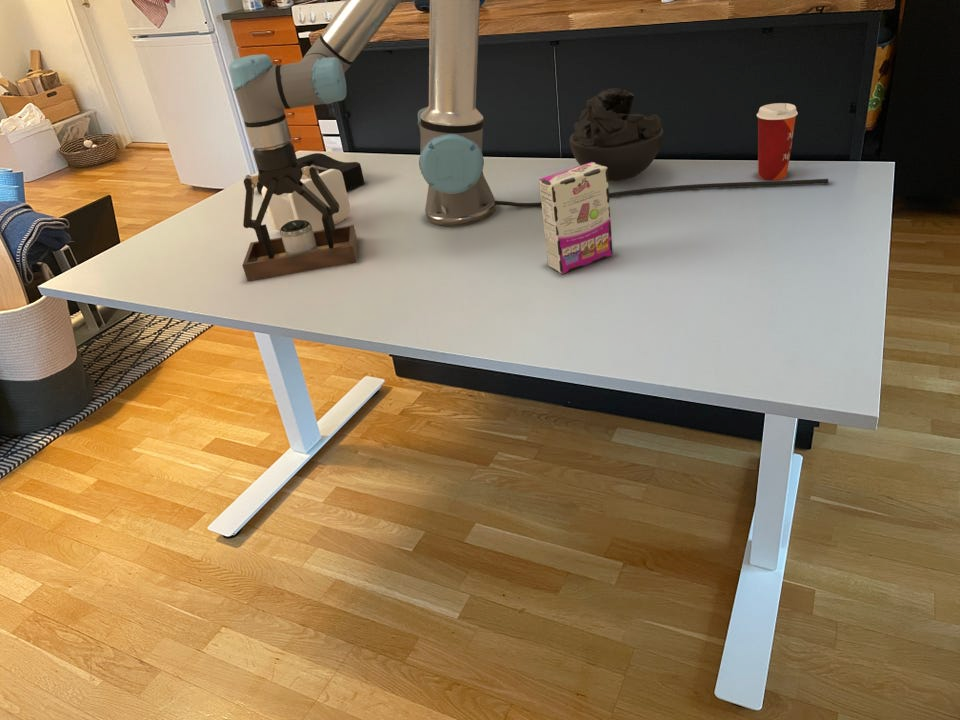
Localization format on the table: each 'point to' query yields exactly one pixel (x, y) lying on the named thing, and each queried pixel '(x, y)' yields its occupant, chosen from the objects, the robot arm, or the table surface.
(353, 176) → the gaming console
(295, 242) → the camera lens
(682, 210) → the table surface
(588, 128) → the coal bowl
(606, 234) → the candy bar box
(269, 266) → the box
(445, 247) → the table surface
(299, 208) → the cable organizer
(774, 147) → the paper cup
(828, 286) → the table surface
